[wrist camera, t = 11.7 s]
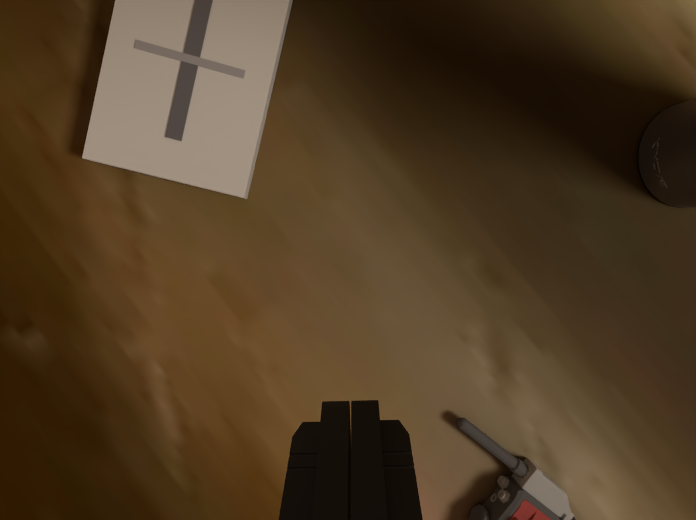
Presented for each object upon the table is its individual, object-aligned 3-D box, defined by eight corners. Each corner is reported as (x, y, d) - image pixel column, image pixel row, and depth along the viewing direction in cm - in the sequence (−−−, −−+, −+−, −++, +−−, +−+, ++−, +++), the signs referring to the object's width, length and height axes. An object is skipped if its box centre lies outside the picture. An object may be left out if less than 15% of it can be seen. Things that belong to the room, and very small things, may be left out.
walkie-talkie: (615, 526, 44) (460, 404, 41) (650, 560, 39) (479, 425, 37) (557, 598, 44) (398, 480, 41) (586, 640, 39) (410, 511, 37)
